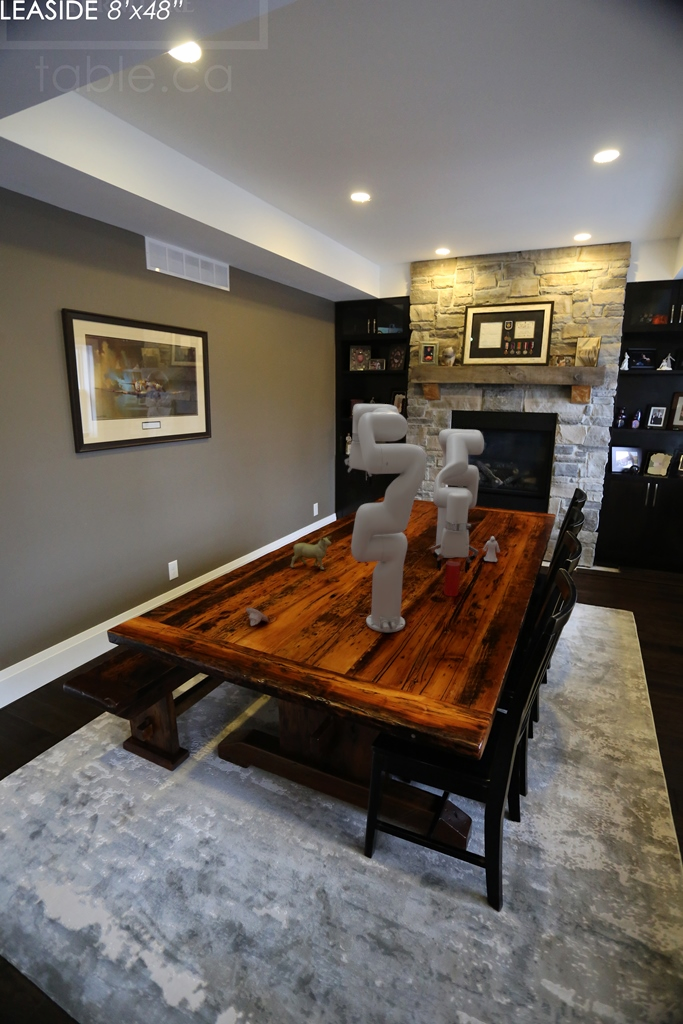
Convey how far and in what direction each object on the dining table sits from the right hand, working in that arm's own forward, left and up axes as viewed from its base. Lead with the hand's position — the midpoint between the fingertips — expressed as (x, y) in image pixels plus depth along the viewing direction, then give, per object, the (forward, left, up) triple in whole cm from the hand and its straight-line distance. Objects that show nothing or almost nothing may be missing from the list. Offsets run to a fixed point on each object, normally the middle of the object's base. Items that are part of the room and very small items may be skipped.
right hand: (452, 570), depth 185 cm
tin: (0, 0, -9) cm, 9 cm away
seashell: (+37, -64, -9) cm, 74 cm away
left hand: (-3, -35, +30) cm, 47 cm away
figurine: (-42, +20, -9) cm, 47 cm away
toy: (-16, -57, -9) cm, 60 cm away
